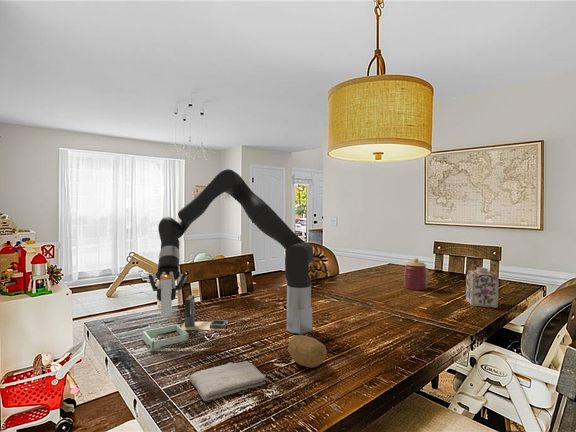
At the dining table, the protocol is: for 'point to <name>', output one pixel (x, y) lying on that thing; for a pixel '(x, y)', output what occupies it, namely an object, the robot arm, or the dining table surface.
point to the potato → (307, 351)
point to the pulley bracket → (193, 325)
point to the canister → (415, 275)
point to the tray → (156, 345)
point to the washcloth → (226, 379)
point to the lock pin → (166, 294)
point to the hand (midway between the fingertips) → (166, 299)
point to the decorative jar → (482, 288)
